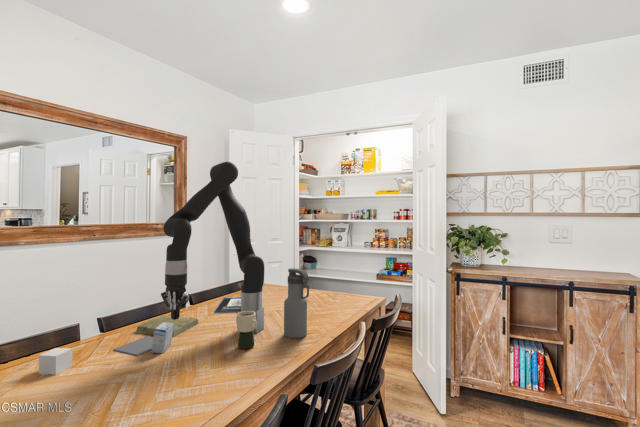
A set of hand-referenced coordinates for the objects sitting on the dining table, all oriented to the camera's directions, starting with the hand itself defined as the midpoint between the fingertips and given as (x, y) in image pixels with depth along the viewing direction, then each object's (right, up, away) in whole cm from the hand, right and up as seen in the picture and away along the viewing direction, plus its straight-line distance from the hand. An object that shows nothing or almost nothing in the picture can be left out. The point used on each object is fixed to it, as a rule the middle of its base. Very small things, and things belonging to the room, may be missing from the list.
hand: (175, 319), depth 121 cm
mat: (-15, -12, +6) cm, 20 cm away
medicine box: (-6, -12, +2) cm, 14 cm away
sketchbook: (+7, -14, +65) cm, 67 cm away
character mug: (+25, -13, +5) cm, 29 cm away
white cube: (-32, -12, -14) cm, 38 cm away
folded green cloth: (-15, -13, +26) cm, 33 cm away
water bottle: (+43, -13, +18) cm, 49 cm away
